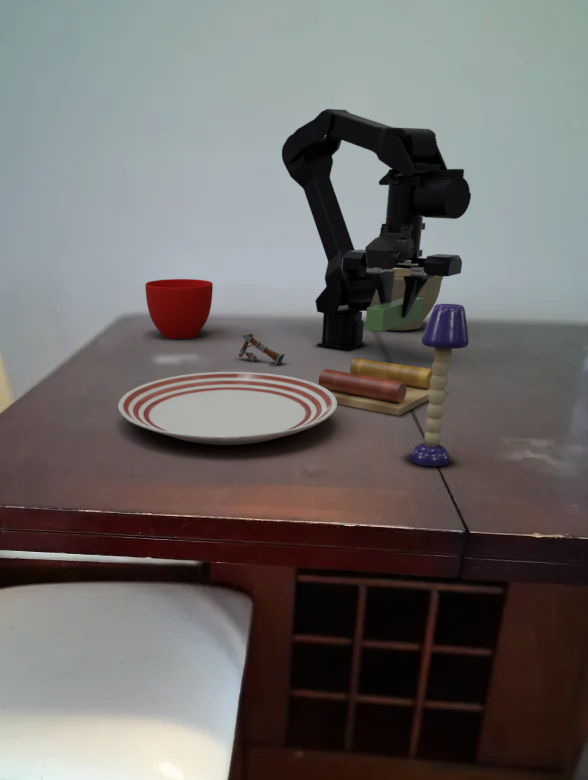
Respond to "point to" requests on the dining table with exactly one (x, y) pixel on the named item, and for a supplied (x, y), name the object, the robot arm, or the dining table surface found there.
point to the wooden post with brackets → (261, 347)
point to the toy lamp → (440, 377)
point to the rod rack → (379, 386)
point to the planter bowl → (427, 293)
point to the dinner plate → (228, 407)
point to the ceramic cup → (179, 306)
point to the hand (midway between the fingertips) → (394, 316)
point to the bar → (391, 315)
